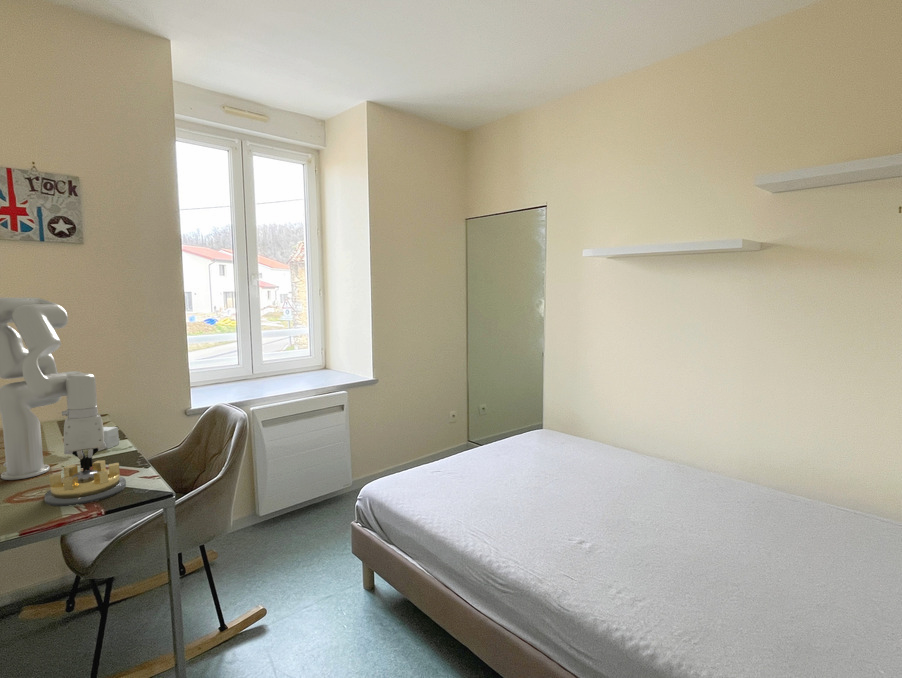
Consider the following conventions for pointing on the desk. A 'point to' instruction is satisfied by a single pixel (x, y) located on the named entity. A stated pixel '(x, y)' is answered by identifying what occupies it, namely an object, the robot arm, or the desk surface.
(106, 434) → the skincare box
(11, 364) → the robot arm
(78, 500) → the base plate
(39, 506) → the desk surface
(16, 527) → the desk surface
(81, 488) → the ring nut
